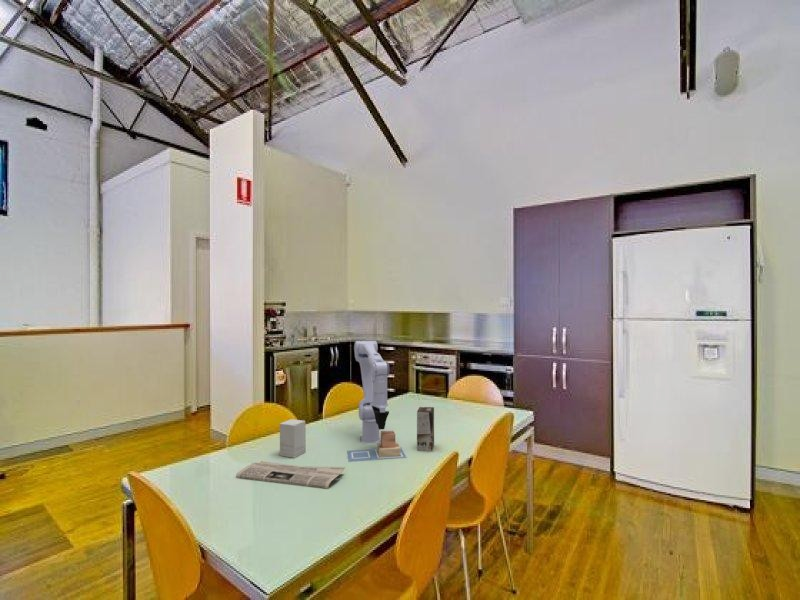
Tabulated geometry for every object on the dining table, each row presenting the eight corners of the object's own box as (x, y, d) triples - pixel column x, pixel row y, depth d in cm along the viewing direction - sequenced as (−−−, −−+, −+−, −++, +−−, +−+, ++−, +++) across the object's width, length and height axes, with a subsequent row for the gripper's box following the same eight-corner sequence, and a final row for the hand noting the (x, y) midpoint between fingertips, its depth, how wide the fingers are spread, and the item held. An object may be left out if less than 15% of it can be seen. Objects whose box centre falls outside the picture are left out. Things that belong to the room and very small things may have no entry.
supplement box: (306, 452, 164) (306, 420, 165) (294, 458, 158) (294, 425, 158) (291, 449, 168) (291, 418, 168) (279, 455, 161) (279, 423, 161)
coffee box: (432, 453, 163) (432, 412, 164) (416, 452, 164) (416, 411, 165) (434, 445, 172) (434, 406, 173) (419, 444, 173) (419, 406, 174)
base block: (377, 450, 165) (377, 442, 165) (396, 449, 166) (396, 441, 166) (379, 457, 157) (379, 449, 157) (400, 456, 158) (400, 448, 158)
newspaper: (235, 479, 140) (236, 468, 140) (257, 465, 152) (257, 456, 152) (332, 491, 131) (332, 479, 131) (347, 475, 143) (347, 465, 143)
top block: (380, 443, 164) (380, 431, 164) (393, 443, 165) (393, 430, 165) (382, 448, 159) (382, 435, 159) (395, 447, 160) (395, 434, 160)
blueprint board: (346, 452, 165) (346, 450, 165) (400, 448, 169) (400, 447, 169) (348, 463, 153) (348, 461, 153) (406, 459, 157) (406, 457, 157)
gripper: (368, 389, 171) (368, 422, 170) (372, 396, 156) (372, 432, 156) (385, 388, 172) (385, 421, 172) (390, 395, 158) (390, 431, 157)
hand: (380, 426), depth 164 cm, fingers open, 7 cm apart
